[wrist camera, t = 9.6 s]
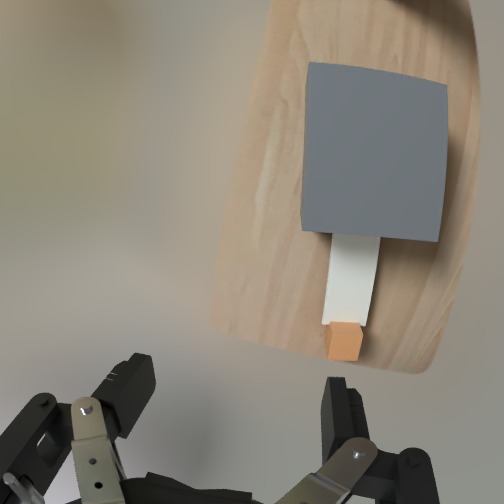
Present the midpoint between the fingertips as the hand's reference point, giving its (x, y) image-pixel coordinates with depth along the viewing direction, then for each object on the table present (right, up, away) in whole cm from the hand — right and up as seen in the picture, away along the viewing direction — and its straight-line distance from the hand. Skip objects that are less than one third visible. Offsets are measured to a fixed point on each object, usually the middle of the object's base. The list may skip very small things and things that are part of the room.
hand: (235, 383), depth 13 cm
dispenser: (+14, +18, +22) cm, 32 cm away
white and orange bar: (+13, +3, +26) cm, 30 cm away
